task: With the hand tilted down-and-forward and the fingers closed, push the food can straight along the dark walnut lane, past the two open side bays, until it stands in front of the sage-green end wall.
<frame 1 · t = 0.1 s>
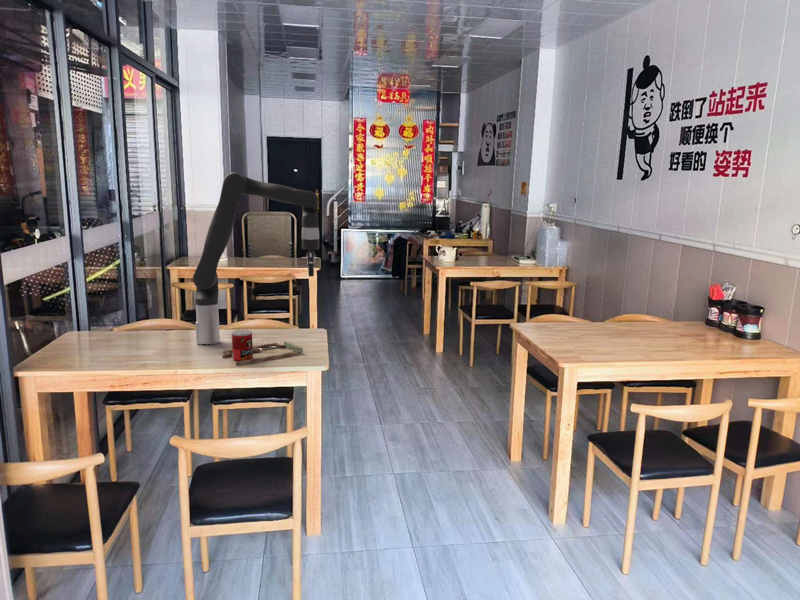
hand: (311, 274, 264), 29 cm above the table, tool pointing down, fingers open, 8 cm apart
lane: (260, 356, 241), on the table
canned food: (243, 359, 237), on the table
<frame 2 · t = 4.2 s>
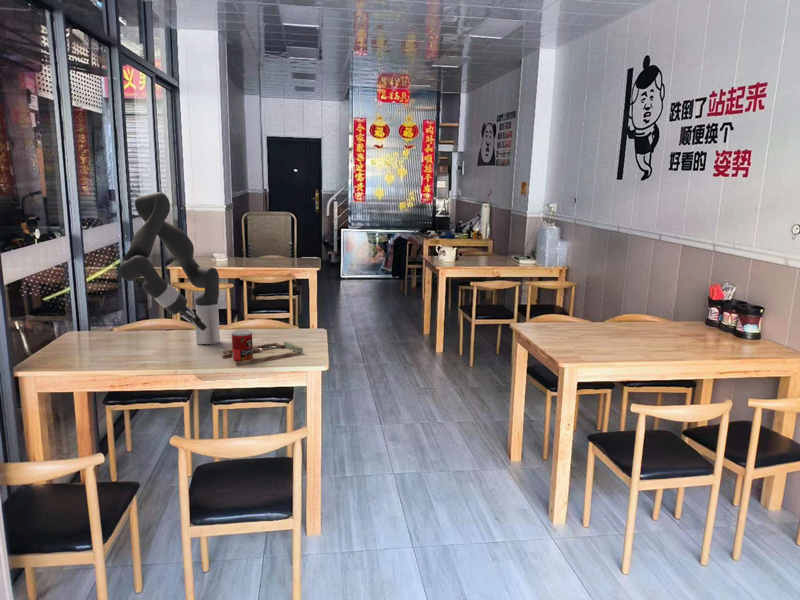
hand: (204, 328, 225), 14 cm above the table, tool tilted 45°, fingers closed
nothing on the table moved.
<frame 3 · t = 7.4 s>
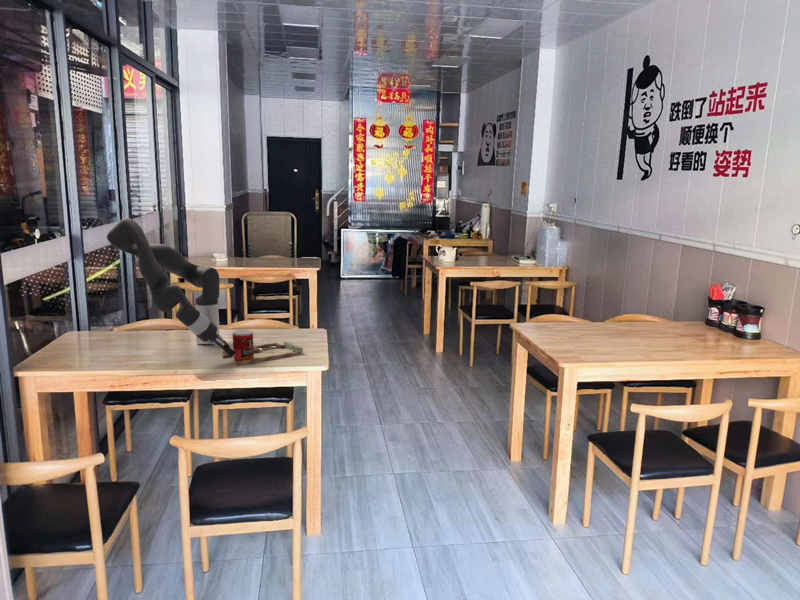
hand: (232, 354, 234), 3 cm above the table, tool tilted 45°, fingers closed
nothing on the table moved.
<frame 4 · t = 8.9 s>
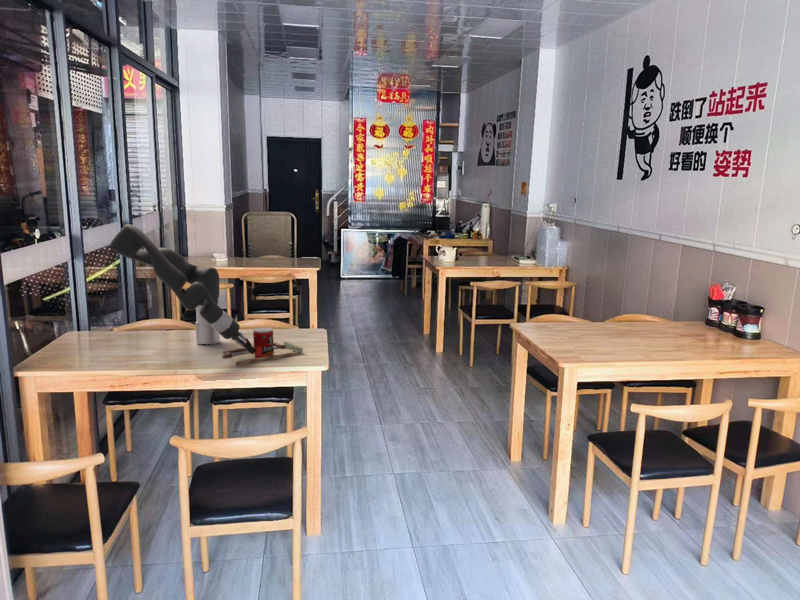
hand: (253, 352, 239), 2 cm above the table, tool tilted 40°, fingers closed
canned food: (264, 356, 242), on the table
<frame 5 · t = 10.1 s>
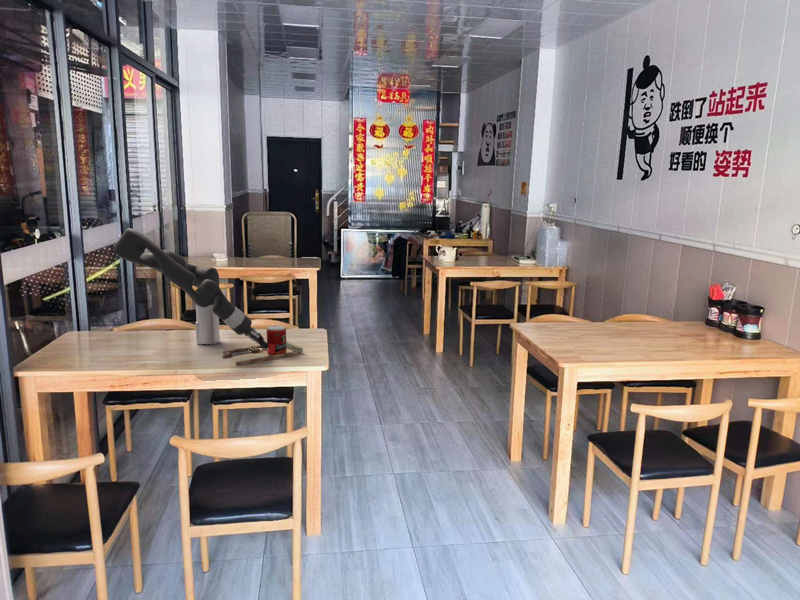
hand: (266, 346, 242), 4 cm above the table, tool tilted 45°, fingers closed
canned food: (276, 354, 245), on the table, touching gripper
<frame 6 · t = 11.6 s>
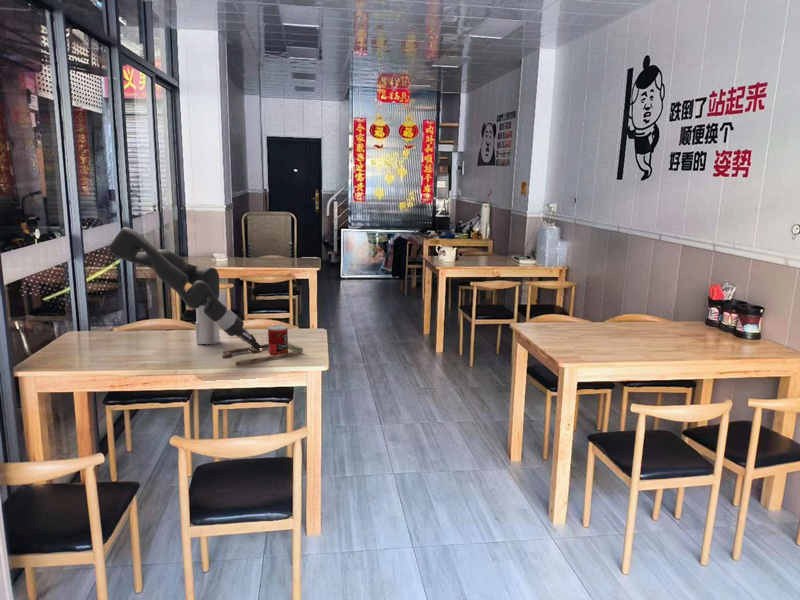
hand: (258, 347, 240), 4 cm above the table, tool tilted 45°, fingers closed
canned food: (278, 353, 246), on the table
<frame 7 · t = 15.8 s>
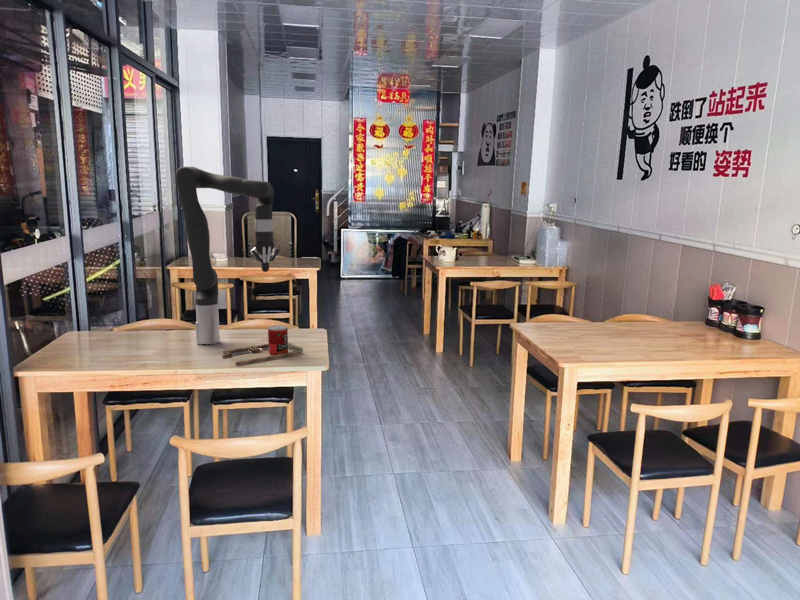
hand: (265, 271, 253), 32 cm above the table, tool pointing down, fingers closed
nothing on the table moved.
at the end: canned food inside the target area (0.4 cm from its centre), on the table; canned food tilted 0° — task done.
